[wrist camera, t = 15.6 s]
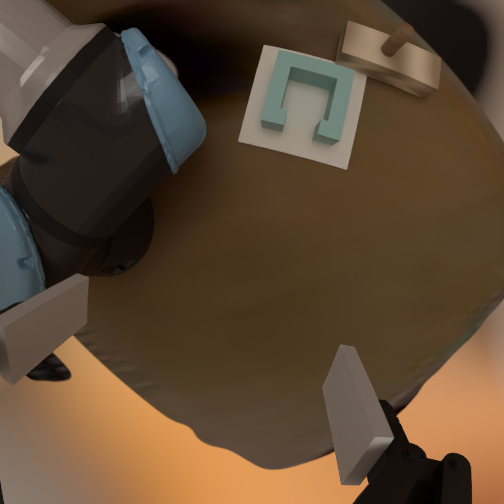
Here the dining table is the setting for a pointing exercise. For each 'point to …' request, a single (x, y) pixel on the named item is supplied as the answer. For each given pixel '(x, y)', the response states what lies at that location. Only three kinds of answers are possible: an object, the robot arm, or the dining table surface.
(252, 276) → the dining table surface
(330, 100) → the c link
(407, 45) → the hook stand
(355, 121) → the felt mat
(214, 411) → the dining table surface
